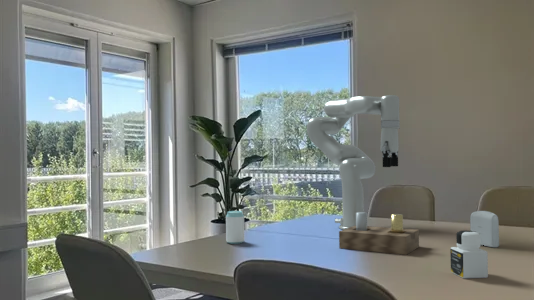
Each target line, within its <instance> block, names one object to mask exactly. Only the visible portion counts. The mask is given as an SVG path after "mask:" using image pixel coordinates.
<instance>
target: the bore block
mask: <svg viewBox="0 0 534 300" xmlns="http://www.w3.org/2000/svg"><path fill="white" fill-rule="evenodd" d="M338 240H339V241H338V243H339V246H338V247H339V249H343V248H344V249H345V250H355V251H367V252H375V253H383V254H384V253H385V254H397V255H406V256H407V255H408V254H410V253H412V252H413V251H415V250H416V249H418V248H420V230H419V229H412V228H411V229H410V228H403V234H400V233H391V227H383V226H369V225H367V231H360V230H356V225H355V226H352V227H350V228H347V229H344V230H343V229H341V230H339V231H338Z"/></svg>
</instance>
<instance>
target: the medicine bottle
mask: <svg viewBox="0 0 534 300" xmlns="http://www.w3.org/2000/svg"><path fill="white" fill-rule="evenodd" d="M455 240H456V246H451V247H450V273H452V274H453V275H455V276H458V277H460V278H462V279H464V280H466V279H485V278H486V279H487V278H488V277H489V268H488V267H489V266H488V265H489V262H488V261H489V259H488V255H489V254H488V251H486V250H485V249H482V248H481V245H480V234H479V233H478V232H476V231H471V230H459V231H457V232H456V239H455Z"/></svg>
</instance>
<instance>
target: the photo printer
mask: <svg viewBox="0 0 534 300" xmlns="http://www.w3.org/2000/svg"><path fill="white" fill-rule="evenodd" d="M469 220H470V225H469V226H470V230H469V231H476V232H478V233H479V234H480V246H483V245H484V246H483V247H489V248H498V247H499V246H500V229H499V228H500V227H499V217H498V215H497V214H495V213H494V212H491V211H487V210H477V211H473V212H471V214H470V217H469Z"/></svg>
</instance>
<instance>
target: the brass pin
mask: <svg viewBox="0 0 534 300" xmlns="http://www.w3.org/2000/svg"><path fill="white" fill-rule="evenodd" d="M390 228H391V233H400V234H403V229H404V215H403V214H399V213H392V214H390Z"/></svg>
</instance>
